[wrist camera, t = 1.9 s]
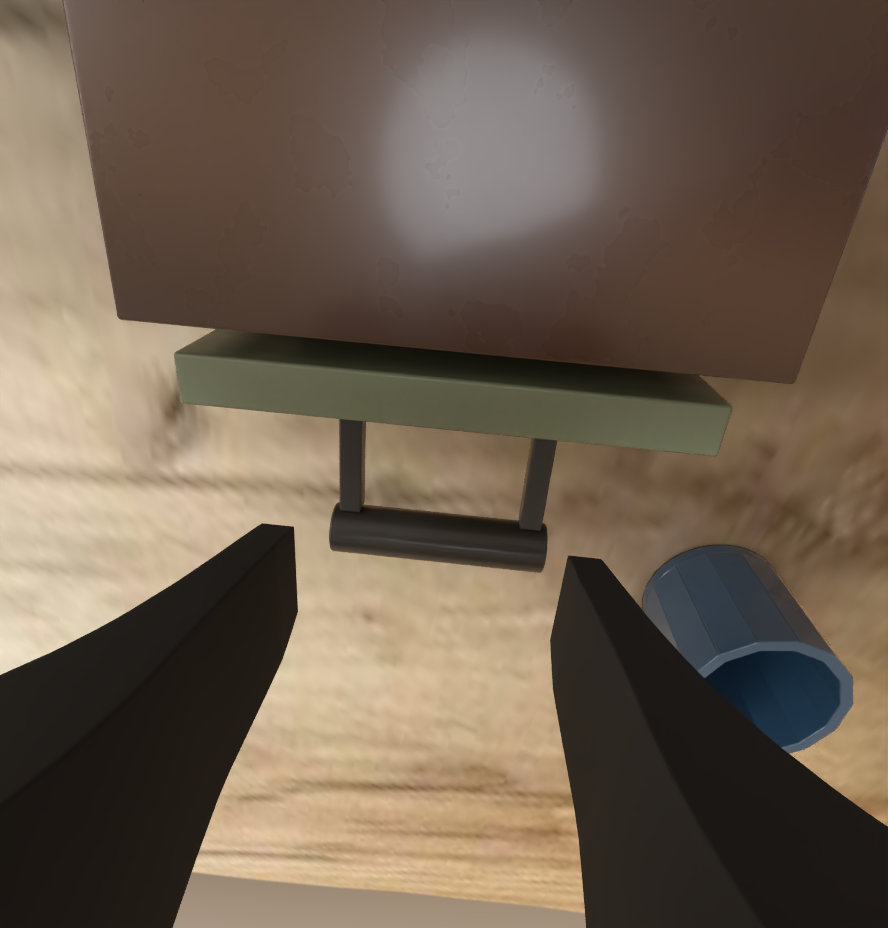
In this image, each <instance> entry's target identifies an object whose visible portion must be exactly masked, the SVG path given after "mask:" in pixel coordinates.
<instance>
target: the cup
mask: <svg viewBox="0 0 888 928" xmlns="http://www.w3.org/2000/svg"><path fill="white" fill-rule="evenodd" d="M642 607H643V611H644V613H645V614H646V615H647V616H648V617H649V619H650V620H651V621H652V622H653V623H654V624H655V626H656V627H657V628H658V629H659V630H660V631H661V633H662V634H663V635H664V636H665V637H666V638H667V639H668V640H669V642H670V643H671V644H672V645H673V646H674V647H675V648H676V649H677V650H678V651H679V652H680V654H681V655H682V656H683V657H684V658H685V659H686V660H687V661H688V662H689V663H690V664H691V665H692V666H693V667H694V668H695V669H696V670H697V671H698V672H699V673H700V674H701V675H702V676H703V677H704V678H705V679H706V680H707V681H708V682H709V683H710V684H711V685H712V686H713V687H714V688H715V689H716V690H717V691H718V692H719V693H720V694H721V695H722V696H723V697H724V698H725V699H726V700H727V701H729V702H730V703H731V704H732V705H733V706H734V707H735V708H736V709H737V710H739V711H740V712H741V713H742V714H743V715H744V716H745V717H746V718H748V719H749V720H750V721H751V722H752V723H753V724H754V725H755V726H756V727H758V728H759V729H760V730H761V731H762V732H763V733H764V734H766V735H767V736H768V737H769V738H770V739H772V740H773V741H774V742H775V743H776V744H778V745H779V746H780V747H781V748H782V749H784V750H785V751H786V752H787V753H793V752H797V751H800V750H804V749H805V748H808V747H810V746H811V745H813V744H815V743H816V742H818V741H819V740H821V739H822V738H824V737H825V736H827V735H829V734H830V733H832V732H833V731H835V729H837V727H838V726H839V725H840V723H841V722H842V720H843V719H844V717H845V716H846V714H847V713H848V711H849V710H850V708H851V707H852V705H853V677H852V675H851V673H850V672H849V670H848V669H847V668H846V666H845V665H844V664H843V662H842V661H841V659H840V658H839V657H838V655H837V654H836V653H835V651H834V650H833V649H832V647H831V646H830V644H829V643H828V642H827V640H826V639H825V638H824V636H823V635H822V633H821V632H820V631H819V629H818V628H817V627H816V625H815V624H814V622H813V621H812V620H811V618H810V617H809V616H808V614H807V613H806V611H805V610H804V609H803V607H802V606H801V605H800V603H799V602H798V601H797V599H796V598H795V596H794V595H793V594H792V592H791V591H790V590H789V588H788V587H787V585H786V584H785V583H784V581H783V580H782V579H781V578H780V577H779V575H778V574H777V573H776V571H775V570H774V569H773V567H772V566H771V565H770V564H769V563H768V562H767V561H766V560H765V559H764V558H762V557H761V556H759V555H758V554H756V553H754V552H752V551H749V550H747V549H744V548H740V547H735V546H728V545H713V546H705V547H700V548H696V549H692V550H690V551H687V552H684V553H682V554H680V555H678V556H676V557H674V558H673V559H671V560H670V561H668V562H667V563H666V564H664V565H663V566H662V567H661V568H660V569H659V570H658V571H657V572H656V573H655V574H654V575H653V577H652V578H651V579H650V581H649V583H648V585H647V587H646V589H645V592H644V596H643V604H642Z"/></svg>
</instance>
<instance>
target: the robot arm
mask: <svg viewBox="0 0 888 928" xmlns="http://www.w3.org/2000/svg"><path fill="white" fill-rule="evenodd" d="M297 613H298V605H297V583H296V562H295V540H294V527H291V526H281V525H272V524H261V525H259V526H257V527H256V528H254V529H253V530H251V531H250V532H248V533H247V534H246V535H244V536H243V537H241V538H240V539H238V540H237V541H235V542H234V543H233V544H231V545H230V546H228V547H227V548H226V549H224V550H223V551H221V552H220V553H218V554H217V555H216V556H214V557H213V558H211V559H210V560H208V561H207V562H205V563H204V564H202V565H201V566H199V567H198V568H197V569H195V570H194V571H192V572H191V573H189V574H188V575H186V576H185V577H183V578H182V579H180V580H179V581H177V582H176V583H174V584H172V585H171V586H169V587H168V588H166V589H164V590H163V591H161V592H159V593H158V594H156V595H155V596H153V597H151V598H150V599H148V600H146V601H145V602H143V603H142V604H140V605H138V606H137V607H135V608H133V609H132V610H130V611H129V612H127V613H125V614H123V615H122V616H120V617H118V618H116V619H115V620H113V621H111V622H109V623H107V624H106V625H104V626H102V627H100V628H98V629H96V630H94V631H93V632H91V633H89V634H87V635H85V636H83V637H81V638H79V639H77V640H75V641H73V642H71V643H69V644H67V645H65V646H63V647H61V648H59V649H57V650H55V651H53V652H51V653H49V654H47V655H44V656H42V657H40V658H38V659H35V660H33V661H31V662H29V663H26V664H24V665H22V666H20V667H17V668H15V669H13V670H11V671H8V672H6V673H4V674H2V675H0V928H173V924H174V922H175V919H176V916H177V913H178V910H179V907H180V904H181V901H182V898H183V896H184V893H185V890H186V887H187V884H188V881H189V878H190V875H191V872H192V869H193V867H194V864H195V861H196V858H197V855H198V852H199V850H200V847H201V844H202V841H203V839H204V836H205V833H206V830H207V828H208V825H209V822H210V819H211V817H212V814H213V811H214V808H215V806H216V803H217V800H218V798H219V795H220V793H221V790H222V788H223V786H224V783H225V781H226V779H227V776H228V774H229V772H230V769H231V767H232V765H233V763H234V761H235V759H236V757H237V755H238V753H239V751H240V748H241V746H242V744H243V742H244V740H245V738H246V736H247V734H248V732H249V729H250V727H251V725H252V723H253V721H254V719H255V717H256V715H257V713H258V711H259V708H260V706H261V704H262V702H263V700H264V698H265V696H266V694H267V692H268V689H269V687H270V685H271V683H272V681H273V679H274V677H275V674H276V672H277V670H278V668H279V666H280V664H281V661H282V659H283V656H284V653H285V650H286V647H287V644H288V641H289V638H290V635H291V632H292V629H293V626H294V622H295V619H296V616H297ZM550 642H551V663H552V679H553V692H554V698H555V704H556V709H557V715H558V721H559V726H560V732H561V737H562V743H563V748H564V754H565V759H566V765H567V770H568V776H569V781H570V787H571V792H572V798H573V803H574V809H575V816H576V823H577V830H578V837H579V846H580V858H581V869H582V881H583V892H584V904H585V917H586V928H888V827H887V826H886V825H884V824H883V823H881V822H880V821H878V820H877V819H876V818H874V817H873V816H871V815H870V814H868V813H867V812H865V811H864V810H863V809H861V808H860V807H858V806H857V805H856V804H854V803H853V802H852V801H850V800H849V799H847V798H846V797H845V796H843V795H842V794H841V793H839V792H838V791H836V790H835V789H834V788H832V787H831V786H830V785H828V784H827V783H826V782H824V781H823V780H822V779H821V778H819V777H818V776H817V775H816V774H814V773H813V772H812V771H810V770H809V769H808V768H807V767H805V766H804V765H803V764H802V763H800V762H799V761H798V760H796V759H795V758H794V757H793V756H791V755H790V754H789V753H787V752H786V751H785V750H784V749H782V748H781V747H780V746H779V745H778V744H776V743H775V742H774V741H773V740H772V739H770V738H769V737H768V736H767V735H766V734H764V733H763V732H762V731H761V730H760V729H759V728H758V727H756V726H755V725H754V724H753V723H752V722H751V721H750V720H749V719H748V718H746V717H745V716H744V715H743V714H742V713H741V712H740V711H739V710H737V709H736V708H735V707H734V706H733V705H732V704H731V703H730V702H729V701H727V700H726V699H725V698H724V697H723V696H722V695H721V694H720V693H719V692H718V691H717V690H716V689H715V688H714V687H713V686H712V685H711V684H710V683H709V682H708V681H707V680H706V679H705V678H704V677H703V676H702V675H701V674H700V673H699V672H698V671H697V670H696V669H695V668H694V667H693V666H692V665H691V664H690V663H689V662H688V661H687V660H686V659H685V658H684V657H683V656H682V655H681V654H680V652H679V651H678V650H677V649H676V648H675V647H674V646H673V645H672V644H671V643H670V642H669V640H668V639H667V638H666V637H665V636H664V635H663V634H662V633H661V631H660V630H659V629H658V628H657V627H656V626H655V624H654V623H653V622H652V621H651V620H650V619H649V617H648V616H647V615H646V614H645V613H644V611H643V610H642V609H641V608H640V607H639V605H638V604H637V603H636V602H635V601H634V599H633V598H632V597H631V596H630V594H629V593H628V592H627V591H626V589H625V588H624V587H623V586H622V584H621V583H620V582H619V581H618V579H617V578H616V577H615V576H614V574H613V573H612V572H611V571H610V569H609V568H608V567H607V566H606V564H605V563H604V562H603V561H602V560H601V559H595V558H586V557H576V556H568V559H567V563H566V568H565V573H564V578H563V582H562V587H561V592H560V596H559V601H558V606H557V610H556V615H555V620H554V625H553V629H552V634H551V639H550Z"/></svg>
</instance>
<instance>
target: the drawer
mask: <svg viewBox="0 0 888 928" xmlns="http://www.w3.org/2000/svg"><path fill="white" fill-rule="evenodd" d="M174 358H175V365H176V373H177V380H178V387H179V395H180V401H181V403H185V404H195V405H205V406H216V407H226V408H236V409H246V410H256V411H266V412H276V413H286V414H296V415H306V416H316V417H326V418H336V419H339V435H340V502H338V503H337V504H336V505H335V507H334V510H333V513H332V518H331V523H330V532H329V542H330V548H331V550H333V551H339V552H349V553H358V554H368V555H377V556H387V557H396V558H405V559H415V560H424V561H434V562H443V563H453V564H462V565H471V566H481V567H490V568H500V569H509V570H519V571H528V572H537V573H540V572H542V571H543V568H544V565H545V561H546V554H547V527H546V524H544V523H542V521H543V516H544V510H545V505H546V499H547V494H548V488H549V483H550V478H551V472H552V467H553V461H554V456H555V450H556V445H557V441H567V442H577V443H587V444H597V445H607V446H617V447H627V448H637V449H647V450H657V451H667V452H677V453H687V454H697V455H707V456H717V454H718V452H719V449H720V446H721V443H722V440H723V437H724V434H725V430H726V427H727V424H728V421H729V418H730V415H731V412H732V406H731V405H730V404H729V403H728V402H727V401H726V400H725V399H724V398H723V397H721V396H720V395H719V394H718V393H717V392H716V391H715V390H714V389H713V388H712V387H711V386H710V385H709V384H708V383H707V382H706V381H704V380H703V379H702V378H701V377H700V376H699V375H692V374H682V373H672V372H661V371H651V370H640V369H630V368H619V367H609V366H599V365H588V364H578V363H567V362H557V361H546V360H536V359H525V358H515V357H505V356H494V355H484V354H473V353H463V352H452V351H442V350H432V349H421V348H411V347H400V346H390V345H379V344H369V343H359V342H348V341H338V340H327V339H317V338H306V337H296V336H286V335H275V334H265V333H254V332H244V331H233V330H223V329H216V330H214V331H212V332H211V333H209V334H207V335H205V336H203V337H202V338H200V339H198V340H196V341H195V342H193V343H191V344H189V345H187V346H186V347H184V348H182V349H180V350H178V351H177V352H175V354H174ZM366 422H376V423H386V424H396V425H406V426H416V427H426V428H436V429H446V430H456V431H466V432H476V433H486V434H497V435H507V436H517V437H527V438H531V444H530V450H529V456H528V463H527V469H526V475H525V481H524V488H523V494H522V500H521V506H520V513H519V521H517V520H507V519H498V518H488V517H478V516H469V515H459V514H449V513H440V512H430V511H421V510H411V509H401V508H392V507H382V506H372V505H363V504H364V494H365V440H366Z"/></svg>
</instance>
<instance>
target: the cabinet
mask: <svg viewBox="0 0 888 928" xmlns="http://www.w3.org/2000/svg"><path fill="white" fill-rule="evenodd" d="M62 1H63V6H64V12H65V18H66V24H67V29H68V35H69V41H70V47H71V52H72V58H73V64H74V69H75V75H76V81H77V87H78V92H79V98H80V104H81V109H82V115H83V121H84V127H85V132H86V138H87V144H88V150H89V155H90V161H91V167H92V172H93V178H94V184H95V190H96V195H97V201H98V207H99V212H100V218H101V224H102V230H103V235H104V241H105V247H106V253H107V258H108V264H109V270H110V275H111V281H112V287H113V293H114V298H115V304H116V310H117V315H118V318H119V319H121V320H129V321H139V322H150V323H160V324H171V325H181V326H192V327H202V328H213V329H223V330H233V331H244V332H254V333H265V334H275V335H286V336H296V337H306V338H317V339H327V340H338V341H348V342H359V343H369V344H379V345H390V346H400V347H411V348H421V349H432V350H442V351H452V352H463V353H473V354H484V355H494V356H505V357H515V358H525V359H536V360H546V361H557V362H567V363H578V364H588V365H599V366H609V367H619V368H630V369H640V370H651V371H661V372H672V373H682V374H692V375H703V376H713V377H724V378H734V379H745V380H755V381H765V382H776V383H786V384H792V383H794V382H795V381H796V378H797V375H798V372H799V370H800V367H801V364H802V362H803V359H804V356H805V353H806V351H807V348H808V345H809V342H810V340H811V337H812V334H813V332H814V329H815V326H816V323H817V321H818V318H819V315H820V312H821V310H822V307H823V304H824V302H825V299H826V296H827V293H828V291H829V288H830V285H831V283H832V280H833V277H834V274H835V272H836V269H837V266H838V263H839V261H840V258H841V255H842V253H843V250H844V247H845V244H846V242H847V239H848V236H849V233H850V231H851V228H852V225H853V223H854V220H855V217H856V214H857V212H858V209H859V206H860V204H861V201H862V198H863V195H864V193H865V190H866V187H867V184H868V182H869V179H870V176H871V174H872V171H873V168H874V165H875V163H876V160H877V157H878V155H879V152H880V149H881V146H882V144H883V141H884V138H885V135H886V133H887V130H888V0H62Z"/></svg>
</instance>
